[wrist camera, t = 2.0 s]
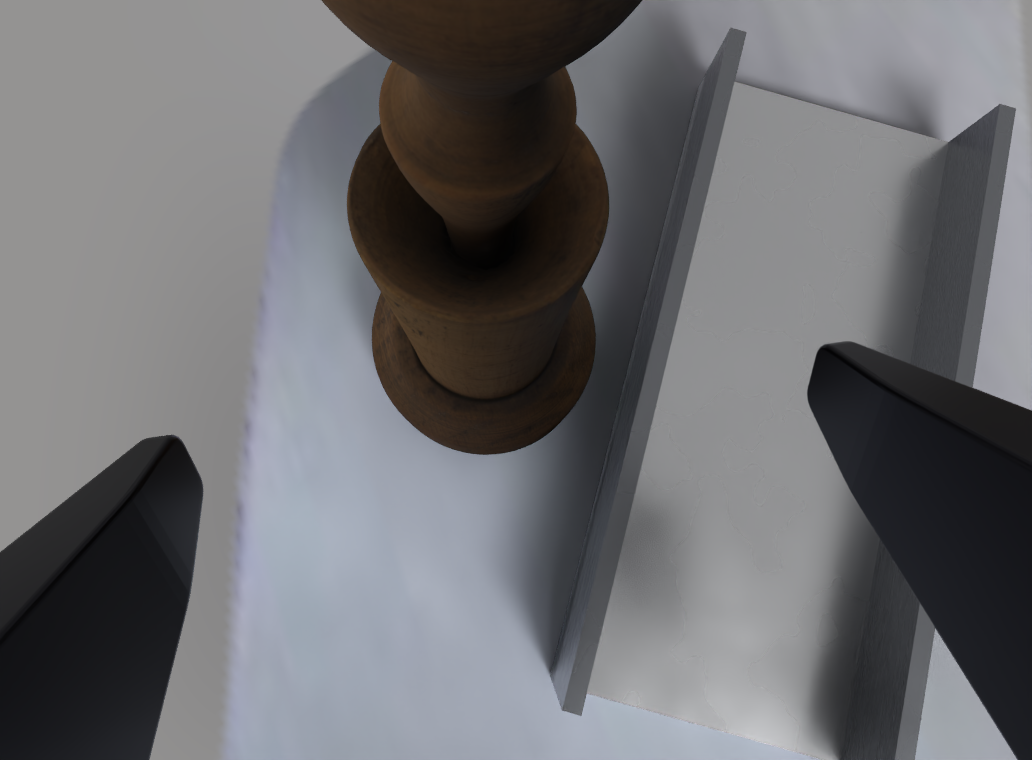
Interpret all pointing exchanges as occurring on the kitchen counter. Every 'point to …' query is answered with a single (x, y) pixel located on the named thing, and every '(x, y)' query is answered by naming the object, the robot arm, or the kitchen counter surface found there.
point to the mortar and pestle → (480, 212)
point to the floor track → (776, 424)
